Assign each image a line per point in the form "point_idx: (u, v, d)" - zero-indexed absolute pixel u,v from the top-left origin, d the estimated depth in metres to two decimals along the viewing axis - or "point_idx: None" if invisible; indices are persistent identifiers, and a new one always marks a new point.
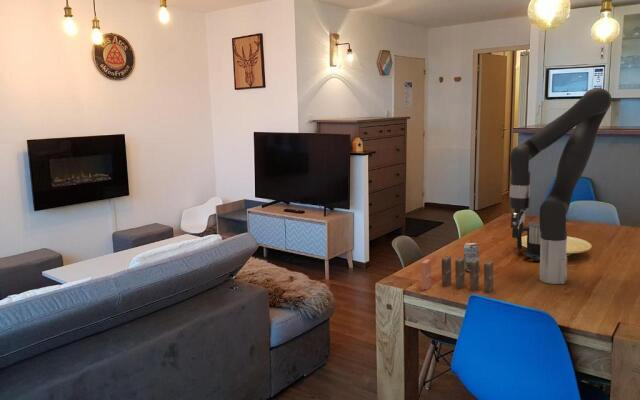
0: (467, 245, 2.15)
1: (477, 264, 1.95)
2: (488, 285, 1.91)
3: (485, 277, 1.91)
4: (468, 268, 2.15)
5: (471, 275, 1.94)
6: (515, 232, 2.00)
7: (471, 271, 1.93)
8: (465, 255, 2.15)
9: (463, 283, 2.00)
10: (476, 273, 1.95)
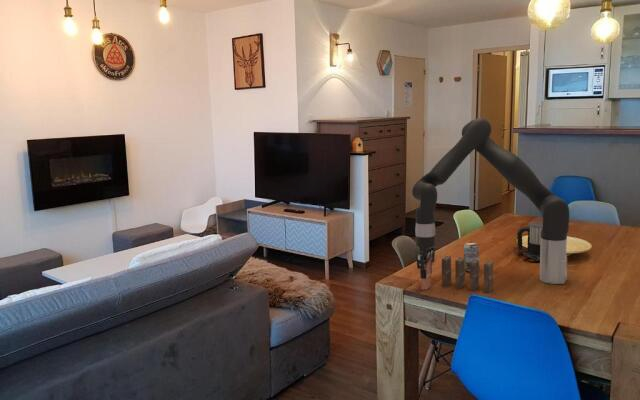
0: (467, 245, 2.15)
1: (477, 264, 1.95)
2: (488, 285, 1.91)
3: (485, 277, 1.91)
4: (468, 268, 2.15)
5: (471, 275, 1.94)
6: (422, 273, 1.95)
7: (471, 271, 1.93)
8: (465, 255, 2.15)
9: (463, 283, 2.00)
10: (476, 273, 1.95)
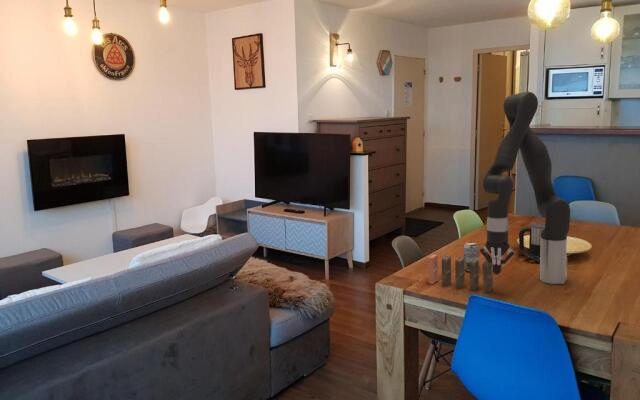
0: (467, 245, 2.15)
1: (477, 264, 1.95)
2: (488, 285, 1.91)
3: (484, 277, 1.91)
4: (468, 268, 2.15)
5: (471, 275, 1.94)
6: None
7: (471, 271, 1.93)
8: (465, 255, 2.15)
9: (463, 283, 2.00)
10: (476, 273, 1.95)
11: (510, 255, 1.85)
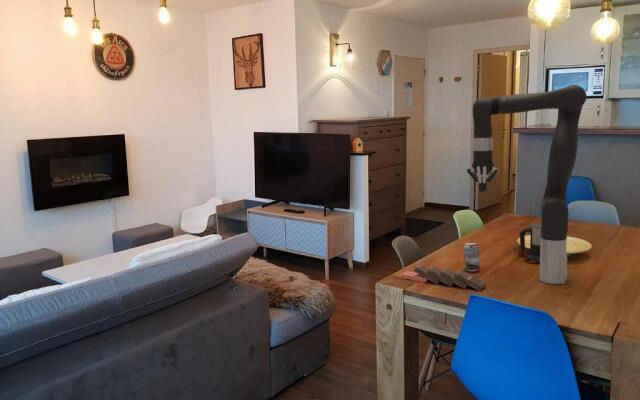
0: (467, 245, 2.15)
1: (447, 270, 2.03)
2: (474, 283, 1.94)
3: (466, 282, 1.96)
4: (468, 268, 2.15)
5: (451, 279, 1.99)
6: None
7: (447, 277, 2.00)
8: (465, 255, 2.15)
9: None
10: (453, 275, 2.00)
11: (494, 173, 2.00)
